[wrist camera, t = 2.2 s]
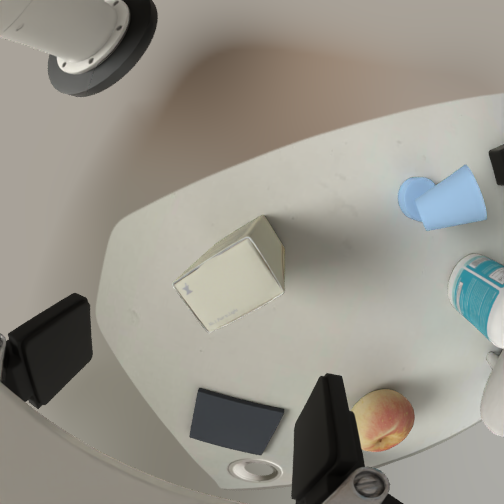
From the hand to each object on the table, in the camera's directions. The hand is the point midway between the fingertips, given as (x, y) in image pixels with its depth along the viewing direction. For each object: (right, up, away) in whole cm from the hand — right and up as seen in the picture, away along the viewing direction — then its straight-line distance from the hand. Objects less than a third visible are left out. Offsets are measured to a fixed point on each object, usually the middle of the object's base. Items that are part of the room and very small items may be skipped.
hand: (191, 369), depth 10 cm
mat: (-1, -21, +27) cm, 34 cm away
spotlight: (+20, +10, +16) cm, 28 cm away
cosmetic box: (+2, +5, +20) cm, 20 cm away
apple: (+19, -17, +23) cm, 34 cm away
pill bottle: (+29, +1, +17) cm, 34 cm away
